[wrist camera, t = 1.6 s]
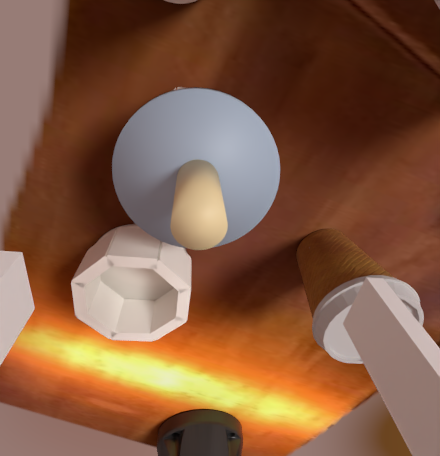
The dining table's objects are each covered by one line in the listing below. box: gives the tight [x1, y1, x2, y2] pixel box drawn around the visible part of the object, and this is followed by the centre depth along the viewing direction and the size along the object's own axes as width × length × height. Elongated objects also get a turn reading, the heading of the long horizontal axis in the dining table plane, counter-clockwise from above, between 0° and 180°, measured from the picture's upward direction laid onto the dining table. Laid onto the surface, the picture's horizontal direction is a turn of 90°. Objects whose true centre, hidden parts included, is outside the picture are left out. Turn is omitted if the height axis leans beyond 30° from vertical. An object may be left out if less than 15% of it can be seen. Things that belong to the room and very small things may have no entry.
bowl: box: [71, 224, 191, 341], centre depth 33 cm, size 11×11×6 cm
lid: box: [112, 87, 280, 250], centre depth 20 cm, size 13×13×8 cm
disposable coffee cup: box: [296, 229, 424, 364], centre depth 31 cm, size 10×10×12 cm
